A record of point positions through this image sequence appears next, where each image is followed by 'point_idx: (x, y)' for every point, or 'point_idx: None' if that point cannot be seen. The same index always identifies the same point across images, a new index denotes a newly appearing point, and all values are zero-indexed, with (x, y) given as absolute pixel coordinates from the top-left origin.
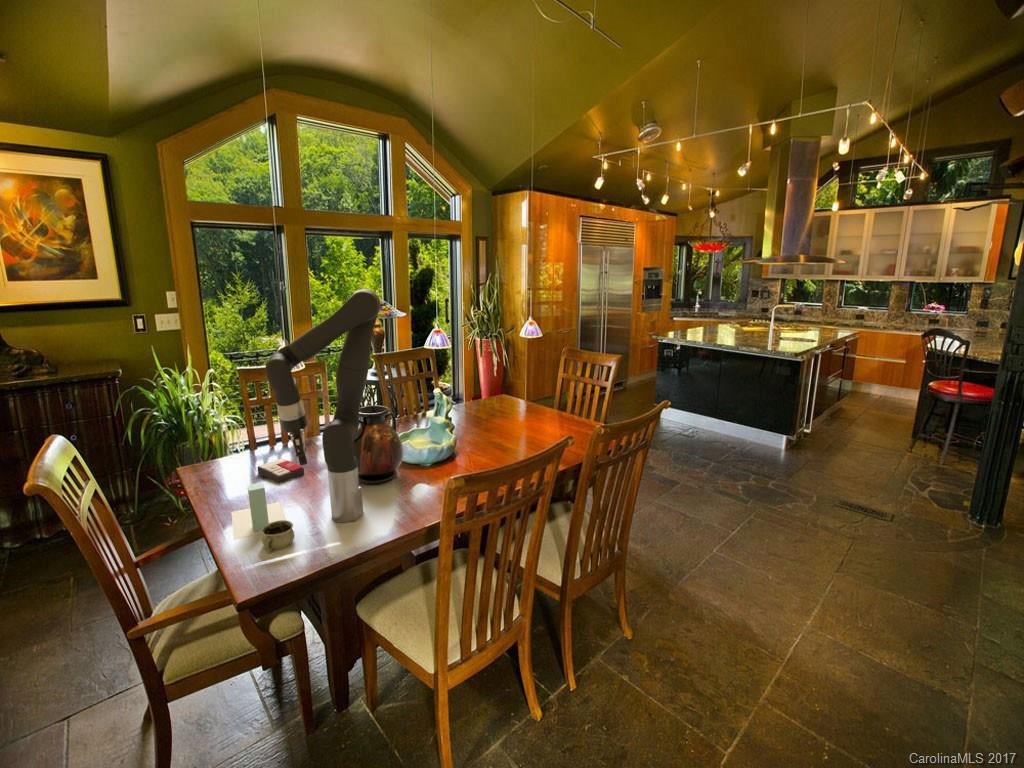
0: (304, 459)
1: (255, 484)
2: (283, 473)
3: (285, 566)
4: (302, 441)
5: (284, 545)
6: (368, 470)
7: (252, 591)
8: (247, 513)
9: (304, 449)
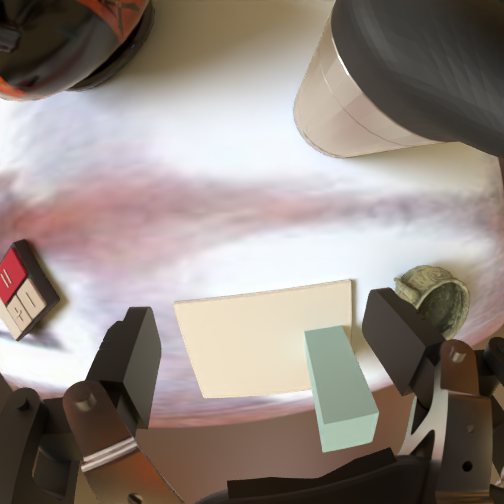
0: (427, 323)
1: (328, 438)
2: (37, 295)
3: (481, 276)
4: (420, 470)
5: (450, 286)
6: (139, 14)
7: (500, 316)
8: (223, 373)
9: (145, 326)
